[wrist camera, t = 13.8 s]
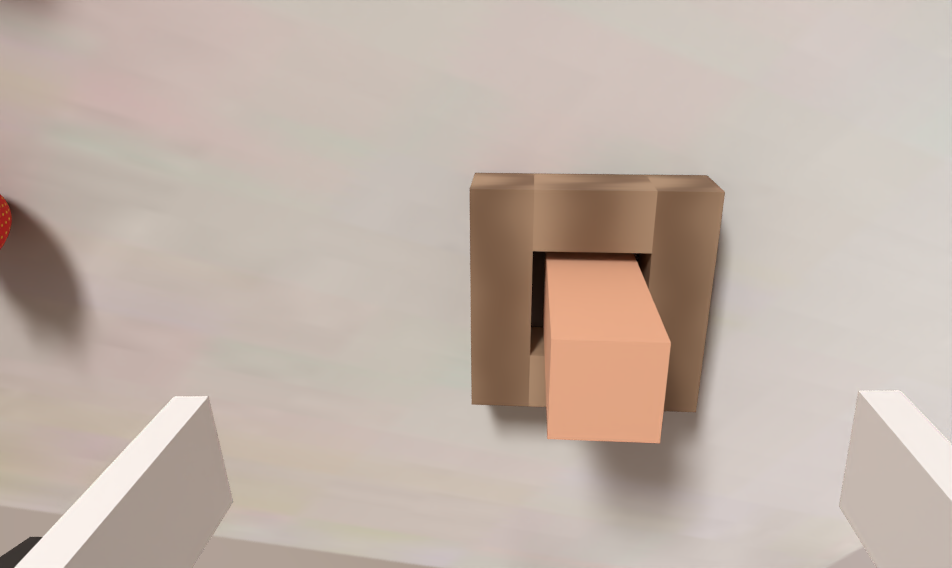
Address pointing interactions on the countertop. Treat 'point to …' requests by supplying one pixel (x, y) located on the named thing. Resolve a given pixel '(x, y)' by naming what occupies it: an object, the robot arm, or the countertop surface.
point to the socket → (587, 230)
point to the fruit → (4, 221)
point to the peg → (602, 349)
